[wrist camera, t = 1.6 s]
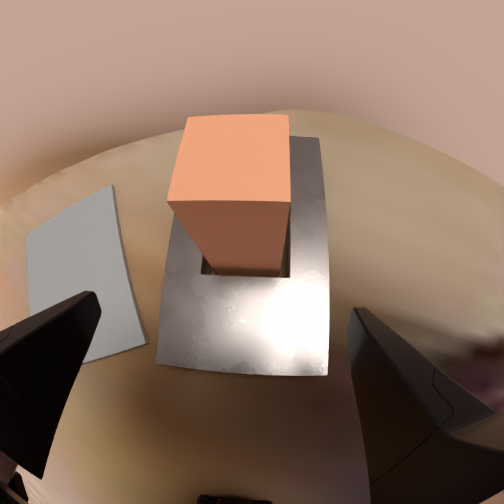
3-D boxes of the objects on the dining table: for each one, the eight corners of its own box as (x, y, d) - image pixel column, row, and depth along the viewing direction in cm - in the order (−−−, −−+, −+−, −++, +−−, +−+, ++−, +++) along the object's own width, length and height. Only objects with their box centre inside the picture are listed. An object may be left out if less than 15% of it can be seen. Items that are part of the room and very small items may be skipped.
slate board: (148, 343, 21) (145, 343, 20) (45, 374, 20) (42, 374, 19) (114, 186, 26) (111, 183, 26) (29, 236, 25) (26, 234, 25)
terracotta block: (278, 278, 22) (290, 201, 10) (218, 275, 22) (166, 200, 11) (280, 222, 24) (288, 114, 12) (223, 220, 24) (188, 117, 12)
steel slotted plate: (319, 371, 19) (327, 375, 17) (169, 361, 20) (156, 363, 17) (314, 157, 26) (318, 137, 23) (197, 156, 27) (191, 137, 24)
